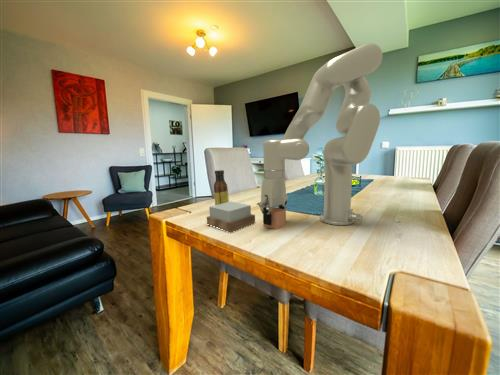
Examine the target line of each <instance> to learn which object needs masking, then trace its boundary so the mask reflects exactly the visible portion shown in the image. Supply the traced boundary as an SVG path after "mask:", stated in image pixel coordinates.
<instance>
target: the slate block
mask: <svg viewBox="0 0 500 375" xmlns="http://www.w3.org/2000/svg"><path fill="white" fill-rule="evenodd" d="M251 207H252V206H251V204H245V203H241V202H240V203H239V202H236V201H229V202H227V203H223V204H219V205H215V204H214V205H211V206H209V216H210V217H212V218H215V219H219V220H222V221H226V222H229V223H230V222H233V221H236V220H239V219H242V218H245V217H248V216H251V214H252V211H251V210H252V208H251Z"/></svg>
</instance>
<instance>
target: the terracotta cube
mask: <svg viewBox="0 0 500 375" xmlns="http://www.w3.org/2000/svg"><path fill="white" fill-rule="evenodd" d="M267 210H268V208H267ZM270 214H271V225H266V224H264V223H263V222H262V223H263V227H266V228H271V229H274V230H278V229H281V228H282V226H283V227H284V225H285V226H286V225H287V208H285V209H280V208H279V207H273V208H272V210H271V212H270Z"/></svg>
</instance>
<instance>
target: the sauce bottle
mask: <svg viewBox="0 0 500 375" xmlns="http://www.w3.org/2000/svg"><path fill="white" fill-rule="evenodd" d="M214 174H215V182H214V183H213V195H214V205H219V204H223V203H227V202H230V201H229V189H228V188H229V187H228V184H227V182H226V181H225V170H224V169H216V170H214Z"/></svg>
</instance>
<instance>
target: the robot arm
mask: <svg viewBox="0 0 500 375" xmlns="http://www.w3.org/2000/svg"><path fill="white" fill-rule="evenodd" d="M382 61H383V51H382V49H381V47H380V46H379V45H378V44H376V43H370V42H368V43H365V44H362V45H359V46H358V47H356V48H353V49H351V50H349V51H347V52H343V53H342V54H340V55H338V56H335V57H333V58H331V59H330V60H328V61H327V62H326V63H325V64H323V65H322V66H321V67H320V68H318V70H317V71H315V73H314V75H313V76H312V79H311V81H310V83H309V85H308V88H307V90H306V92H305V95H304V97H303V99H302V102H301V104H300V106H299V108H298V110H297V112H296V113H295V115H294V116H293V118H292V120H291V122H290V123H289V125H288V127H287V129H286V131H285V133H284V135H283V138H282V139H267V140H265V141H264V142H263V144H262V145H263V146H262V148H263V179H262V182H261V183H262V184H261V193H260V202H259V203H258V206H259V208H260V211H261V213H262V219H263V221H262V223H264V224H266V225H271V214H270V212H271V210H272V208H273V207H274V208H280V209H287V204H288V198H289V196H288V195H287V191H286V190H287V187H286V180H285V178H286V177H285V176H286V171H285V169H286V167H285V166H286V163H285V162H286V161H285V160H289V161H300V160H303V159H305V158H306V157H308V154H309V152H310V145H309V143H308V142H307V141H306V140H304V139H305V136H306V134H307V133H308V132H309V131H310V129H311V128H312V127H313V126H314V125H316V124H317V123H318V122H319V121H320V120H321V119H322V117H323V115H324V113H325V112H326V109H327V107H328V105H329V102H330V100H331V97H332V95H333V93H334V91H335V89H337V88H340V86H343V87H344V91H345V93H344V99H343V102H342V105H341V107H340V110H339V113H338V116H337V119H336V122H335V128H336V131H337V132H338V133H339V134H340V135H343V136H340V137H334V138H332V139H329V141H327V142H326V143H325V145H324V147H323V151H322V156H323V162H324V189H323V190H324V194H323V197H324V198H323V201H324V202H323V203H324V204H323V214H321V215H319V220H320V221H321V222H323V223H325V224H329V225H333V226H334V225H335V226H348V225H352V224H354V223H355V220H356V221H363V215H361V213H355V212H354V210H353V209H351V207H352V206H351V205H352V203H351V202H352V188H353V187H352V184H353V183H352V182H353V170H352V166H351V165H358V164H361V163H363V162H364V161H365V159H367V157H368V155H369V153H370V151H371V149H372V146H373V144H374V140H375V137H376V135H377V132H378V130H379V126H380V123H381V114H380V110H379V109H378V107H377V105H375V104H373V103H371V102H370V100H371V97H372V90H371V87H370V85H369V83H368V81H367V79H366V76H367V75H370V74H371V73H373V72H374V71H376V70H377V69H378V68H379V66H380V65H381V63H382ZM267 209H268V210H267Z"/></svg>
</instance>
